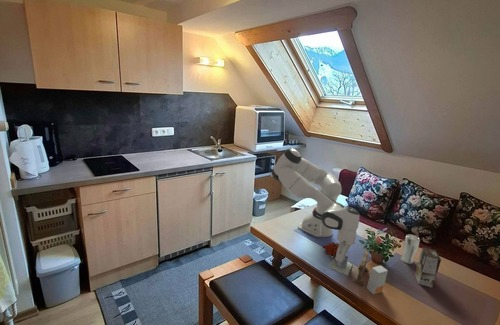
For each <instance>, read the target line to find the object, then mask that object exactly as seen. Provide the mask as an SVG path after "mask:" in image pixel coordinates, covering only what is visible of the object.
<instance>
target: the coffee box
mask: <svg viewBox="0 0 500 325" xmlns="http://www.w3.org/2000/svg"><path fill="white" fill-rule="evenodd" d="M417 260H418V261H417V263H416V264H417V265H416V268H415V271H414V275H415V278H416V280H417V283H418V285H422V286H426V287H427V288H428V287H429V288H433V286H434V284H435V280H436V278H437V274H438V271H439V267H440V265H441V262H442V258H441V257H440V256H439V254H438V252H437V250H436V249H432V248H427V247H421V251H420V253H419V258H418V259H417Z"/></svg>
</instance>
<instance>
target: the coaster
mask: <svg viewBox="0 0 500 325" xmlns="http://www.w3.org/2000/svg"><path fill="white" fill-rule="evenodd" d="M335 258H336V257H335V256H333V257H332V260H331V262H330V263H329V265H328V268H329V269H331V270H333V271H336V272H339V273H341V274H344V275H346V276H349V274H350V271H351V269H352V267H353V263H350V262H348V261H347V265H346V267H345V269H342V268H339V267H337V266H335V262H336V260H335Z"/></svg>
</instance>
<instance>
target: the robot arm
mask: <svg viewBox="0 0 500 325" xmlns="http://www.w3.org/2000/svg"><path fill="white" fill-rule="evenodd" d="M271 176H272V178H273V179H274V180H276V181H277V182H281V184H282V185H283V186H284V188H285V189H286V190H287V191H288V192H289V193H291V195H293V196H294V197H296V198H297V199H312V200H314V201H315V202H316V206H315V207H314V208H313V210H312V213H310V214H308V215H305V217H304V218H303V219H302V220H301V221H300V222H299V223H298V225H297V228H298V229H299V230H301V231H304V232H306V233H307V234H310V235H312V236H314V237H315V238H321V237H323V238H325V237H326V238H327V237H331V236H332V235H333V230H337V235H336V236H337V237H336V240H337V241H338V244H339V246H338V249H337V253H336V257H335V260H336V261H338V265H339V266H341V265H342V262H343V260H344V258H345V256H347V254H348V253H349V250H350V248H351V247H352V246H353V245H355V242H356V238H357V230H358V228H359V223H360V213H359V211H358V210H357V209H356V208H354V207H352V206H348V205H347V206H345V205H343V204H342V203H340V202H338V201H337V200H338V198H339V196H340V195H341V194H342V190H343V189H342V185H341V182H340V181H339V180H338V178H337V177H336V176H335V175H334V174H333V173H331V172H330V171H328V170H325V169H323V168H321V167H319V166H317V165H315V164H314V163H313V162H312V161H311V162H310V161H309V160H308V159H306V158H304V157H302V154H301V153H300V152H299V151H298V150H297V149H296V148H287V149H286V150H285V151H284V152H283V154H282V155H281V156H280V157H279V158H278V159H277V162H276V163H275V164H274V167H272V170H271ZM313 184H314V185H313ZM315 185H316V186H318V187H320V188H321V189H319V188H318V187H316V186H315Z"/></svg>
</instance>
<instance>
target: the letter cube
mask: <svg viewBox="0 0 500 325" xmlns="http://www.w3.org/2000/svg"><path fill="white" fill-rule="evenodd" d="M348 260H349V256H347V255H346V256H345V258H344V260H343V262H342V265H341V266H339V265H338V261H336V262H335V266H337V267H339V268H342V269H345V267H346V265H347V262H348Z"/></svg>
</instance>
